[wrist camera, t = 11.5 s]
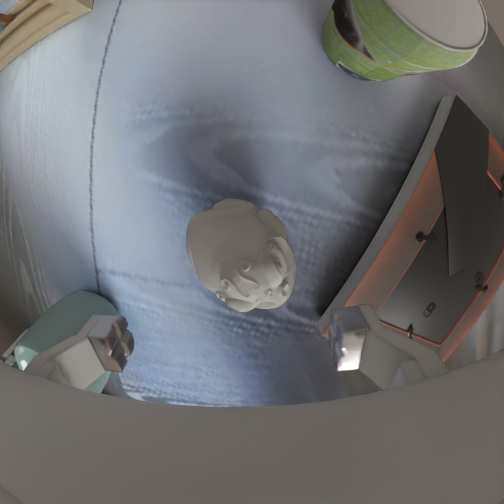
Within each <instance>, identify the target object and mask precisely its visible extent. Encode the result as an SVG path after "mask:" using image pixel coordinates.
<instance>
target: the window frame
mask: <svg viewBox="0 0 504 504" xmlns="http://www.w3.org/2000/svg"><path fill="white" fill-rule="evenodd" d="M93 1H94V0H20V1H19V2H18V3H17V4H16V5H14V6H13V7H12V8H11V9H10V10H9V11H7V12H6V13H5V14H6V15H10V16H14V17H16V18H15V19H14V20H13V21H12V22H11V23H10V24H8V25H7V26H6V27H5V28H4V29H3V30H2V31H1V32H0V71H1V70H2V69H3V68H4V67H6V66H7V65H8V64H9V63H10V62H12V61H13V60H14V59H15V58H17V57H18V56H19V55H21V54H22V53H23V52H25V51H26V50H27V49H29V48H30V47H31V46H33V45H34V44H36V43H37V42H39V41H40V40H41V39H43V38H44V37H46V36H48V35H49V34H51V33H52V32H54V31H55V30H57V29H59V28H60V27H62V26H64V25H66V24H67V23H69V22H71V21H73V20H74V19H76V18H78V17H80V16H82V15H84V14H86V13H88V12H90V11H92V8H93Z"/></svg>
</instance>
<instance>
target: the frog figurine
mask: <svg viewBox="0 0 504 504" xmlns="http://www.w3.org/2000/svg"><path fill="white" fill-rule="evenodd" d="M287 237H288V236H287V231H286V228H285V226H284V225H283V223H282V222H281V221H280V219H279V218H278V217H277V216H275V215H274V214H273V213H272V212H271V211H270V210H267V209H261V210H260V209H258V208H256V206H255V205H254V204H252V203H251V202H249V201H245V200H241V199H230V198H229V199H224V200H222V201H220V202H218V203H216V204H215V205H214V206H213V207H212V209H211V210H206V211H203V212H201V213H198V214H196V215H194V216H193V217H192V218H191V220H190V222H189V225H188V229H187V233H186V248H187V253H188V256H189V259H190V262H191V264H192V266H193V268H194V269H195V270H196V273H197V276H198V278H199V279H200V281H201V282H202V284H204V286H206V288H208V289H210V290H211V291H213V292H215V293H216V295H217V297H218V298H220V299H221V300H224V302H226V305H227V306H228V307H230V308H232V309H234V310H237V311H240V312H246V311H249V310H252V309H254V308H261V309H272V308H277V307H278V306H280V305H282V304H283V303H284V302H285V301H286V300H287V299H288V298H289V296H290V295H291V292H292V290H293V285H294V281H295V274H296V257H295V254H294V252H293V248H292V246H291V245H290V244H288V242H287Z"/></svg>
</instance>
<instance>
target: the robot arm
mask: <svg viewBox="0 0 504 504" xmlns="http://www.w3.org/2000/svg"><path fill="white" fill-rule="evenodd" d="M330 320H331V323H332V324H331V325H330V327H329V333H328V336H329V346H330V350H331V351H332V352H333V353H334V357H333V360H334V363H335V367H336V370H337V371H345V370H353V369H359V370H360V371H361V372H362V373H363V374H364V375H366V376H367V377H368V378H369V379H370V380H372V381H373V382H374V383H375V384H376V385H378V386H379V387H380V388H381V389H382V390H384V391H380V392H376V393H371V394H366V395H361V396H355V397H350V398H344V399H338V400H331V401H324V402H316V403H307V404H297V405H284V406H267V407H206V406H188V405H176V404H165V403H156V402H148V401H141V400H134V399H128V398H122V397H117V396H112V395H106V394H102V393H97V392H93V391H88V390H84V389H85V388H86V387H87V386H88V385H90V384H91V383H92V382H93V381H95V380H96V379H97V378H98V377H99V376H101V375H102V374H103V373H104V372H105V371H113V372H122V371H123V369H124V367H125V365H126V363H127V359H126V358H127V357H128V356H130V355H131V354H132V352H133V349H134V339H133V336H132V333H131V332H130V331H129V330H128V329H127V327H128V323H127V321H126V318H125V317H123V316H112V315H92V317H91V318H90V319H89V320H88V321H87V323H86V324H85V325H84V326H83V328H82V329H81V330H80V331H79V333H78V334H77V335H76V336H75V335H73V336H71V337H70V338H68V339H66V340H64V341H62V342H60V343H58V344H56V345H54V346H53V347H51V348H49V349H47V350H45V351H43V352H41V353H39V354H38V355H36V356H35V357H34V358H33V359H32V360H31V362H30V363H29V364H28V365H27V367H26V368H25V369H24V371H22V370H20V369H17V368H14V367H12V366H9V365H7V364H5V363H2V362H0V504H504V349H503V350H500V351H498V352H496V353H494V354H492V355H490V356H488V357H485V358H483V359H481V360H478V361H476V362H474V363H471V364H469V365H466V366H463V367H461V368H458V369H456V370H453V371H450V372H449V371H448V369H447V367H446V366H445V364H444V363H443V361H442V360H441V358H440V356H439V355H438V353H437V352H436V351H434V350H432V349H430V348H428V347H426V346H424V345H422V344H420V343H418V342H416V341H414V340H412V339H410V338H408V337H406V336H404V335H402V334H400V333H398V332H396V331H394V330H392V329H390V328H384V326H383V324H382V323H381V321H380V319H379V318H378V316H377V314H376V313H375V311H374V309H373V308H372V306H371V304H369V303H368V304H361V305H356V306H350V307H342V308H333V309H331V311H330Z"/></svg>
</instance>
